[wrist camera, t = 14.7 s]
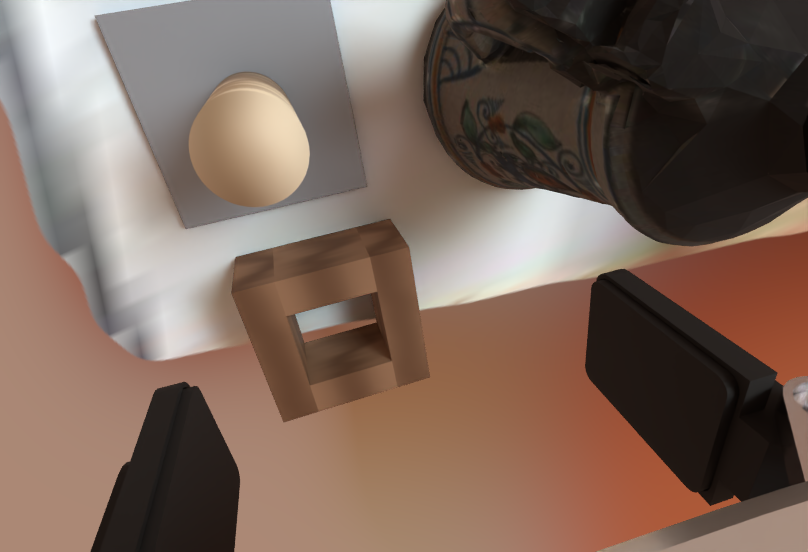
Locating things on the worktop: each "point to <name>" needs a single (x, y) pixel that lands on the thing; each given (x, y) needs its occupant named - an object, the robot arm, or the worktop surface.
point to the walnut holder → (323, 285)
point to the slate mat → (221, 57)
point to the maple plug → (249, 142)
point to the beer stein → (630, 106)
